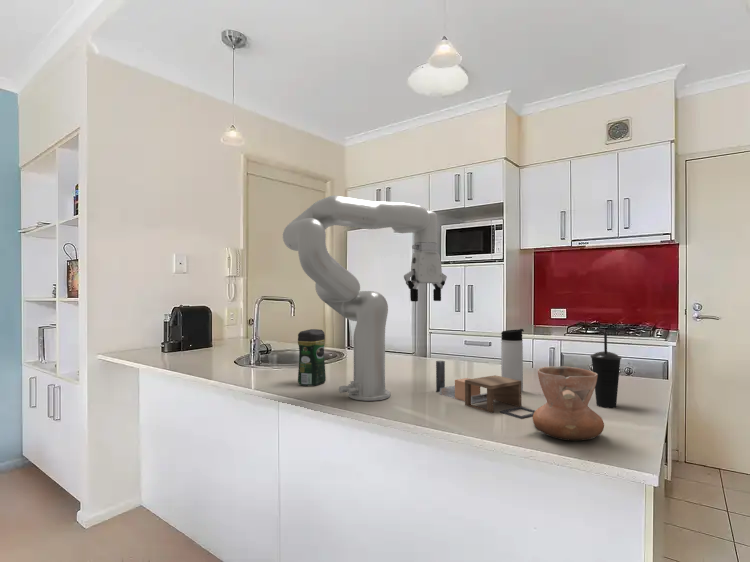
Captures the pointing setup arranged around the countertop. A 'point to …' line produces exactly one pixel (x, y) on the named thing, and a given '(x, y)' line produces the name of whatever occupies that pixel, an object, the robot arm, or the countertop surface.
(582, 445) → the countertop surface
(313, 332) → the coffee jar
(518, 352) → the travel mug
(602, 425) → the ceramic jug
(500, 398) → the tunnel
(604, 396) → the drinking cup
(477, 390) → the block
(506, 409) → the dark piece
